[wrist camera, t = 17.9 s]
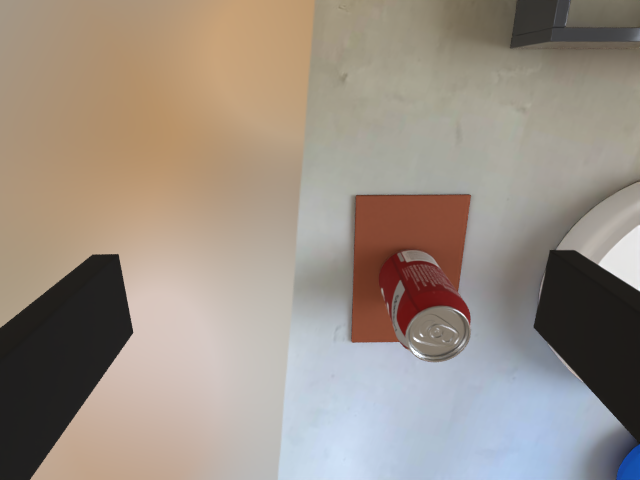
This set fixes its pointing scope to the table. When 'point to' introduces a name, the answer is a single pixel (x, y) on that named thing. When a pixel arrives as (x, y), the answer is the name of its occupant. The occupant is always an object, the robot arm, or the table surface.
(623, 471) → the vase
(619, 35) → the grey rectangular bin
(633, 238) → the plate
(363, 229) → the mat
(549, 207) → the table surface
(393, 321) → the soda can
